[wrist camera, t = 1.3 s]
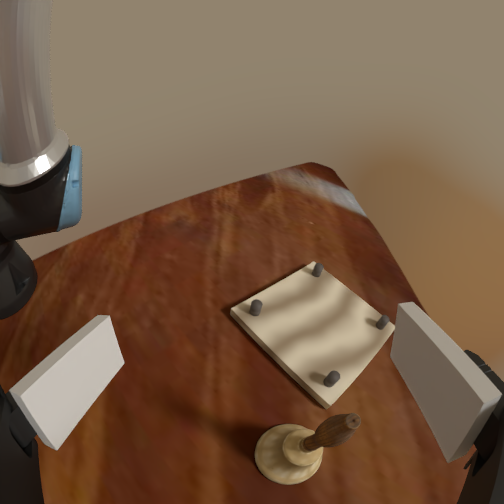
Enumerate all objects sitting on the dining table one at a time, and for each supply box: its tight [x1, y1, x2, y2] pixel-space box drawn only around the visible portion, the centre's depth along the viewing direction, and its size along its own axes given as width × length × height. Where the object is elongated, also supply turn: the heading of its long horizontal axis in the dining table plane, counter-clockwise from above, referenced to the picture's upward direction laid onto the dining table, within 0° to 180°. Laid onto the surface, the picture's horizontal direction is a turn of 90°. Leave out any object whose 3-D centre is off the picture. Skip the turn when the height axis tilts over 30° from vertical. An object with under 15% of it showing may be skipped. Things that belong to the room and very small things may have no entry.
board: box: [230, 262, 395, 409], centre depth 41 cm, size 20×20×4 cm
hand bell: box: [255, 413, 361, 485], centre depth 21 cm, size 8×8×16 cm
